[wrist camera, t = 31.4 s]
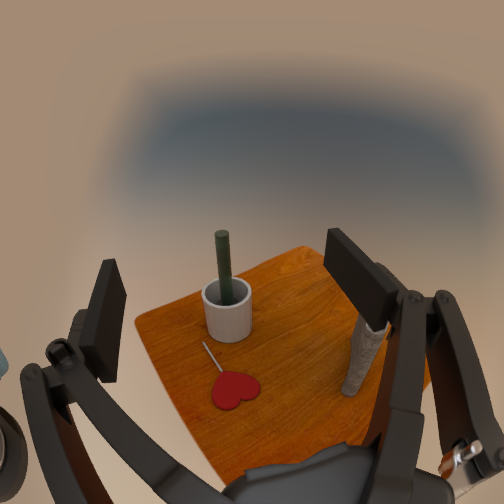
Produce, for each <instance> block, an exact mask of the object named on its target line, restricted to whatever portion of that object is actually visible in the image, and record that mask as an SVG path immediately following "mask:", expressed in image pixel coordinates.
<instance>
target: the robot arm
mask: <svg viewBox="0 0 504 504" xmlns="http://www.w3.org/2000/svg"><path fill="white" fill-rule="evenodd" d="M323 265H324V267H325V268H326V269H327V270H328V272H329V273H330V274H331V276H332V277H333V278H334V280H335V281H336V282H337V284H338V285H339V286H340V288H341V289H342V290H343V292H344V293H345V294H346V296H347V297H348V298H349V300H350V301H351V302H352V304H353V305H354V306H355V308H356V309H357V310H358V312H359V313H360V314H361V316H362V317H363V319H364V320H365V321H366V323H367V324H368V325H369V327H370V328H371V330H372V331H373V332H374V333H375V332H378V331H380V330H383V329H385V327H386V325H387V322H388V321H389V323H390V324H391V325H392V326H391V328H390V331H389V333H388V335H387V338H386V340H388V345H387V351H386V356H385V362H384V367H383V372H382V377H381V381H380V386H379V390H378V394H377V399H376V403H375V407H374V411H373V414H372V418H371V422H370V425H369V429H368V432H367V434H366V437H365V439H364V441H363V443H362V445H361V446H360V445H347V443H346V441H344V442H342V443H339V444H336V445H333V446H331V447H328V448H325V449H322V450H321V451H319V452H318V453H316V454H314V455H313V456H311V457H309V458H308V459H306V460H304V461H303V462H301V463H295V464H270V465H266V466H262V467H257V468H252V469H248V470H244V471H245V475H243V476H240V477H238V478H237V479H235V480H234V481H232V482H231V483H230V484H228V485H227V486H226V487H225V488H224V490H223V491H222V492H221V493H220V492H219V491H217V490H216V489H214V488H213V487H212V486H210V485H209V484H207V483H206V482H205V481H203V480H202V479H200V478H199V477H198V476H196V475H195V474H194V473H193V472H191V471H190V470H188V469H187V468H186V467H184V466H183V465H181V464H180V463H179V462H177V461H176V460H175V459H174V458H173V457H171V456H170V455H169V454H168V453H167V452H166V451H164V450H163V449H162V448H161V447H160V446H159V445H158V444H156V442H155V441H153V440H152V439H151V438H150V437H149V436H148V435H147V434H146V433H145V432H144V431H143V430H142V429H141V428H140V427H139V426H138V425H137V424H136V423H135V422H134V421H133V420H132V419H131V418H130V417H129V416H128V415H127V414H126V413H125V412H124V411H123V410H122V409H121V408H120V406H119V405H118V404H117V403H116V402H115V401H114V400H113V399H112V398H111V396H110V395H109V394H108V393H107V392H106V391H105V390H104V389H103V387H102V386H101V385H100V384H99V382H98V381H97V378H99V379H100V380H101V382H102V383H114V382H116V381H117V368H118V357H119V348H120V338H121V331H122V323H123V316H124V309H125V303H126V296H127V294H126V292H125V289H124V286H123V283H122V280H121V277H120V273H119V270H118V267H117V264H116V261H115V259H108V260H103V262H102V265H101V268H100V271H99V274H98V277H97V280H96V283H95V286H94V290H93V293H92V296H91V299H90V303H89V306H88V309H81V310H79V311H78V312H77V313H76V315H75V316H74V318H73V322H72V326H71V328H70V332H69V336H68V339H67V340H66V339H63V338H59V339H56V340H54V341H52V342H51V343H50V344H49V345H48V347H47V348H46V353H45V354H46V357H47V359H48V360H49V361H50V363H51V364H52V365H51V366H48V367H45V368H42V369H41V368H40V366H39V365H38V364H36V363H31V364H28V365H27V366H25V367H24V368H23V370H22V371H21V374H20V381H21V388H22V394H23V400H24V405H25V410H26V415H27V419H28V424H29V428H30V432H31V435H32V439H33V443H34V446H35V450H36V453H37V456H38V459H39V463H40V466H41V468H42V471H43V474H44V477H45V480H46V482H47V485H48V487H49V490H50V492H51V495H52V497H53V499H54V501H55V504H114V503H113V502H112V500H111V499H110V496H109V495H108V493H107V491H106V490H105V488H104V486H103V484H102V482H101V480H100V478H99V476H98V474H97V472H96V470H95V468H94V466H93V464H92V462H91V460H90V458H89V456H88V453H87V451H86V449H85V447H84V445H83V442H82V440H81V437H80V435H79V432H78V430H77V427H76V425H75V422H74V419H73V417H72V414H71V411H70V408H69V405H68V404H71V403H74V402H77V403H78V405H79V406H80V408H81V409H82V410H83V412H84V413H85V415H86V416H87V417H88V419H89V420H90V421H91V422H92V424H93V425H94V426H95V427H96V429H97V430H98V431H99V433H100V434H101V435H102V436H103V437H104V439H105V440H106V441H107V442H108V443H109V444H110V446H111V447H112V448H113V449H114V450H115V451H116V452H117V454H118V455H119V456H120V457H121V458H122V459H123V460H124V461H125V462H126V463H127V464H128V465H129V466H130V467H131V468H132V469H133V470H134V471H135V472H136V473H137V474H138V475H139V476H140V477H141V478H142V479H143V480H144V481H145V482H146V483H147V484H148V485H149V486H150V487H151V488H152V490H153V491H154V492H155V493H156V494H157V495H158V496H159V497H160V498H161V499H162V500H164V501H165V502H166V503H167V504H455V500H456V499H458V498H459V497H461V496H462V495H464V494H465V493H467V492H468V491H469V490H471V489H472V488H474V487H475V486H476V485H478V484H480V483H482V482H484V481H486V480H487V479H489V478H491V477H493V476H494V475H496V474H498V473H499V472H501V471H502V470H504V434H503V432H502V430H501V428H500V427H499V424H498V422H497V421H496V419H495V417H494V413H493V409H492V405H491V401H490V396H489V393H488V389H487V385H486V381H485V378H484V374H483V371H482V368H481V365H480V362H479V359H478V356H477V353H476V350H475V347H474V344H473V341H472V339H471V336H470V333H469V331H468V328H467V325H466V323H465V320H464V318H463V316H462V313H461V311H460V308H459V306H458V304H457V302H456V299H455V297H454V296H453V295H452V294H451V293H450V292H448V291H446V290H438V291H437V292H436V294H435V296H434V297H424V296H423V295H422V294H421V293H419V292H417V291H415V290H408V289H407V288H406V287H405V286H404V285H403V284H402V283H401V282H400V281H399V280H398V279H397V278H396V277H394V275H393V274H392V273H390V271H389V270H388V269H387V268H386V267H385V266H383V265H381V264H380V263H378V262H377V263H374V262H373V261H371V259H370V258H369V257H368V256H367V255H366V254H365V253H364V252H363V251H362V250H361V249H360V248H359V247H358V246H357V245H355V243H354V242H353V241H351V239H349V238H348V237H347V236H346V235H345V234H344V233H343V232H342V231H341V230H340V229H339V228H332V229H328V233H327V241H326V249H325V256H324V263H323ZM388 338H389V339H388ZM425 352H426V357H427V361H428V366H429V371H430V376H431V382H432V387H433V393H434V399H435V406H436V413H437V421H438V429H439V439H440V445H441V450H442V454H443V458H442V461H441V464H440V466H439V468H438V471H439V473H440V474H441V477H440V476H437V475H434V474H431V473H429V472H426V471H423V470H421V469H418V468H416V464H417V459H418V454H419V449H420V444H421V438H422V433H423V426H424V415H423V414H421V412H420V409H421V400H422V392H423V382H424V369H425ZM8 367H9V365H8V361H7V359H6V357H5V356H4V354H3V352H2V350H1V349H0V380H1V377H2V376H3V375H4V374H5V373H6V372H7V371H8ZM6 458H7V442H6V437H5V434H4V432H3V430H2V428H1V426H0V473H1V472H2V470H3V468H4V466H5V462H6Z"/></svg>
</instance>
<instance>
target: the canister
mask: <svg viewBox="0 0 504 504" xmlns="http://www.w3.org/2000/svg"><path fill="white" fill-rule="evenodd" d="M232 287H233V298H235V299H237V300H239V303H237V304H235V305H231V306H219V305H215V304H216V303H217V301H218V300H220V299H221V293H220V283H219V278H216V279H214V280H212V281H210V282H209V283H207V284H206V285H205V286H204V288H203V289H202V301H203V307H204V313H205V318H206V324H207V328H208V332H209V334H210V335H211V336H212V337H213V338H214V339H215V340H217V341H220V342H224V343H234V342H238V341H241V340H243V339H244V338H246V337H247V336H248V335H249V334H250V332H251V330H252V296H251V287H250V285H249V284H248V283H247V282H246V281H244V280H242V279H240V278H237V277H232Z"/></svg>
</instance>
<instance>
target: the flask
mask: <svg viewBox="0 0 504 504" xmlns="http://www.w3.org/2000/svg"><path fill="white" fill-rule="evenodd" d="M388 324H389V321H388V322H387V325H386V327H385V329H383V330H380V331H378V332H375V333H374V332H373V331H372V330H371V328H370V327H369V325H368V324H367V323H366V321H365V320H364V319H363V317H362V316H361V314H360V313H359V315H358V319H357V322H356V325H355V328H354V331H353V334H352V337H351V359H350V365H349V369H348V373H347V376H346V378H345V380H344V383H343V385H342V387H341V392H342V393H343V395H345V396H347V397H352V396H354V395H356V393H357V392H358V390H359V388H360V386H361V384H362V382H363V380H364V378H365V376H366V374H367V372H368V370H369V368H370V366H371V364H372V362H373V359H374V357H375V355H376V353H377V351H378V349H379V346H380V344H381V342H382V340H383V337H384V335H385V332H386V330H387V327H388Z"/></svg>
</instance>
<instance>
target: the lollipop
mask: <svg viewBox="0 0 504 504" xmlns="http://www.w3.org/2000/svg"><path fill="white" fill-rule="evenodd" d="M202 343H203V345H204V346H205V348H206V349H207V351H208V352H209V354H210V356H211V357H212V359H213V360H214V362H215V363H216V365H217V366H218V368H219V370H220V371H221V374H220V375H219V377H218V378H217V380H216V382H215V384H214V387H213V390H212V400H213V403H214V404H215V405H216V406H217V407H218V408H220V409H223V410H231V409H233V408H235V407H237V406H238V405H239V403H240V400H241V399H242V400H252V399H254V398H255V397H257V396H258V394H259V393H260V384H259V383H258V381H257V380H256V379H255V378H253V377H251V376H249V375H246V374H242V373H237V372H228V371H223V370H222V369H221V367H220V366H219V364H218V363H217V361H216V360H215V358H214V357H213V355H212V354H211V352H210V351H209V349H208V347H207V346H206V344H205V343H204V342H202Z"/></svg>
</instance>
